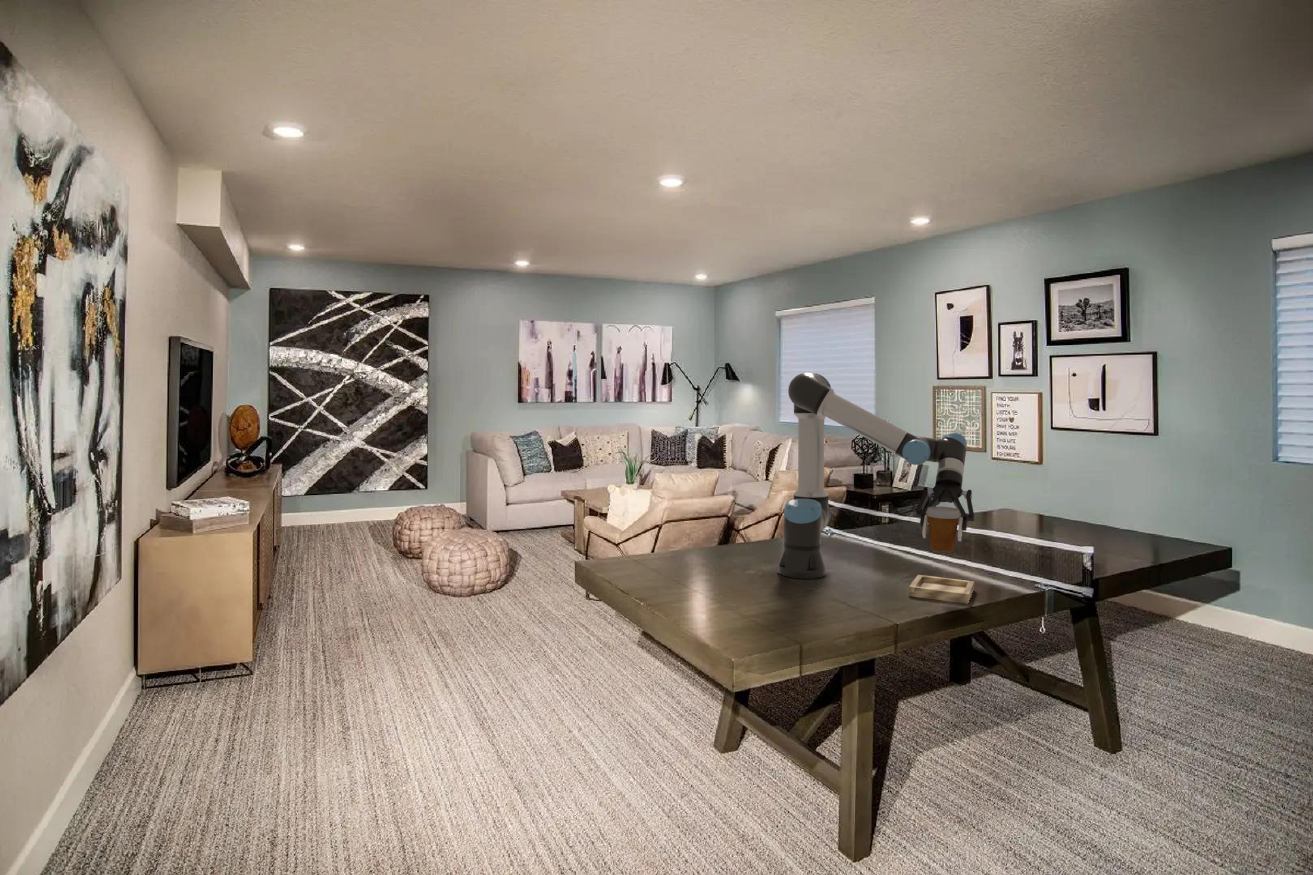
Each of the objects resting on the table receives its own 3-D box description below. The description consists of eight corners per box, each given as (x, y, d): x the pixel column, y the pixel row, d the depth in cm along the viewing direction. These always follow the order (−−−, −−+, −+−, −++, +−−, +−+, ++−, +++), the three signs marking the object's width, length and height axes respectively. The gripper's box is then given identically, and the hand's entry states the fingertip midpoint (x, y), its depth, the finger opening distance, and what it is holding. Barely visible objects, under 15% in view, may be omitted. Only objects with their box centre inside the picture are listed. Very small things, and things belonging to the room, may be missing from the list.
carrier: (908, 595, 215) (908, 586, 214) (917, 583, 229) (918, 574, 228) (968, 603, 207) (968, 594, 207) (974, 590, 221) (974, 581, 221)
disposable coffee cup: (948, 554, 211) (950, 512, 210) (918, 548, 218) (919, 508, 217) (965, 550, 217) (967, 509, 216) (935, 544, 224) (936, 505, 223)
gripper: (988, 486, 224) (982, 548, 211) (913, 482, 235) (903, 540, 222) (987, 470, 219) (981, 532, 206) (911, 466, 230) (901, 526, 217)
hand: (941, 536), depth 214 cm, fingers closed on disposable coffee cup, 9 cm apart
